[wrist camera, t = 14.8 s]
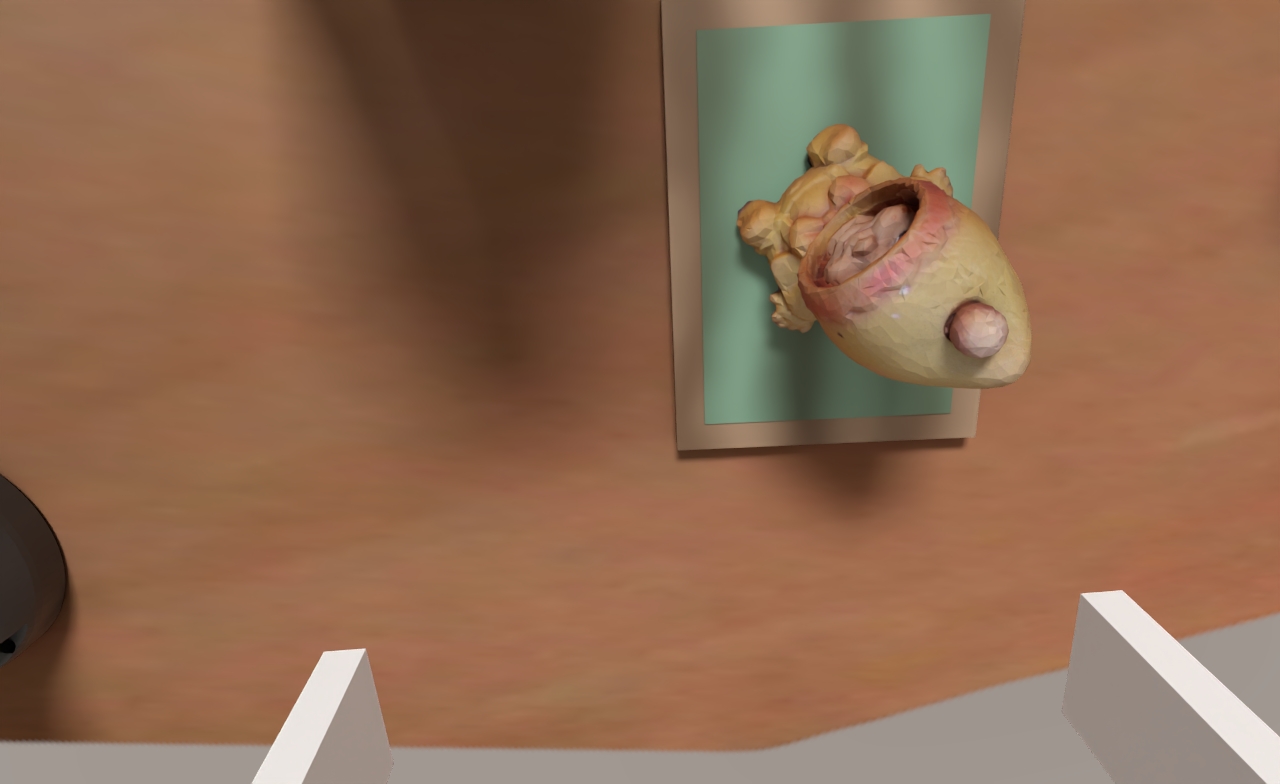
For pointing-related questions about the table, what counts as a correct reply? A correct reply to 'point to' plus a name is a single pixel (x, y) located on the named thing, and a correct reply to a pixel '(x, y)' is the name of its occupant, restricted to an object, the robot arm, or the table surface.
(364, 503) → the table surface
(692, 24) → the green framed board
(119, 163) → the table surface
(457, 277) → the table surface
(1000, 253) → the figurine
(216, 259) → the table surface
